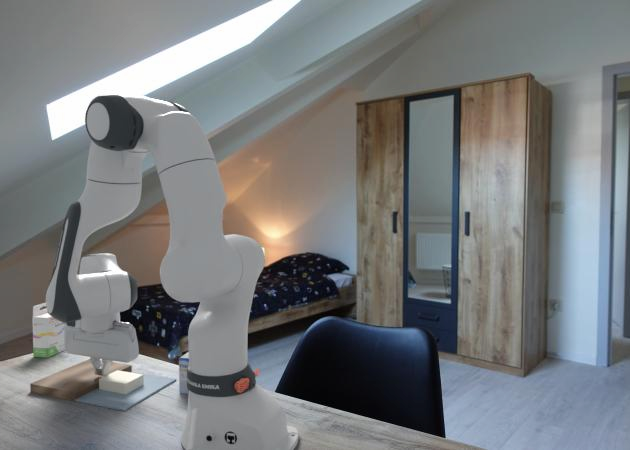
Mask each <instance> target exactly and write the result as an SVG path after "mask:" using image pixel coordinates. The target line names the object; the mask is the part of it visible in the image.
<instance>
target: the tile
mask: <svg viewBox="0 0 630 450" xmlns="http://www.w3.org/2000/svg"><path fill="white" fill-rule="evenodd" d="M142 385H144V379H143V374H137V373H131V372H125V371H119V370H117V371H115V372H113V373H111V374H108V375H106V376H104V377H102V378H100V379H99V389H100V390H105V391H111V392H116V393H121V394H128V393H129V392H131V391H133V390H135V389H137V388H138V387H140V386H142Z"/></svg>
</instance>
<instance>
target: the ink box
mask: <svg viewBox="0 0 630 450" xmlns="http://www.w3.org/2000/svg"><path fill="white" fill-rule="evenodd" d="M43 307H46V302H42V303H38V304H37V305H32V319H31V320H32V345H33V346H32V348H33V349H32V351H33V357H35V358H42V359H43V358H51V357H52V356H55V355H57V354H59V353H62V352H64V351H66V350H65V347H64V330H65V328H66V327H67V326H65V325H64V323H63V322H61V321H58V320H57V319H55V318H53V317H52V316H50V315H49V314H48V311H47V307H46V308H43ZM42 308H43V309H42Z"/></svg>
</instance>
